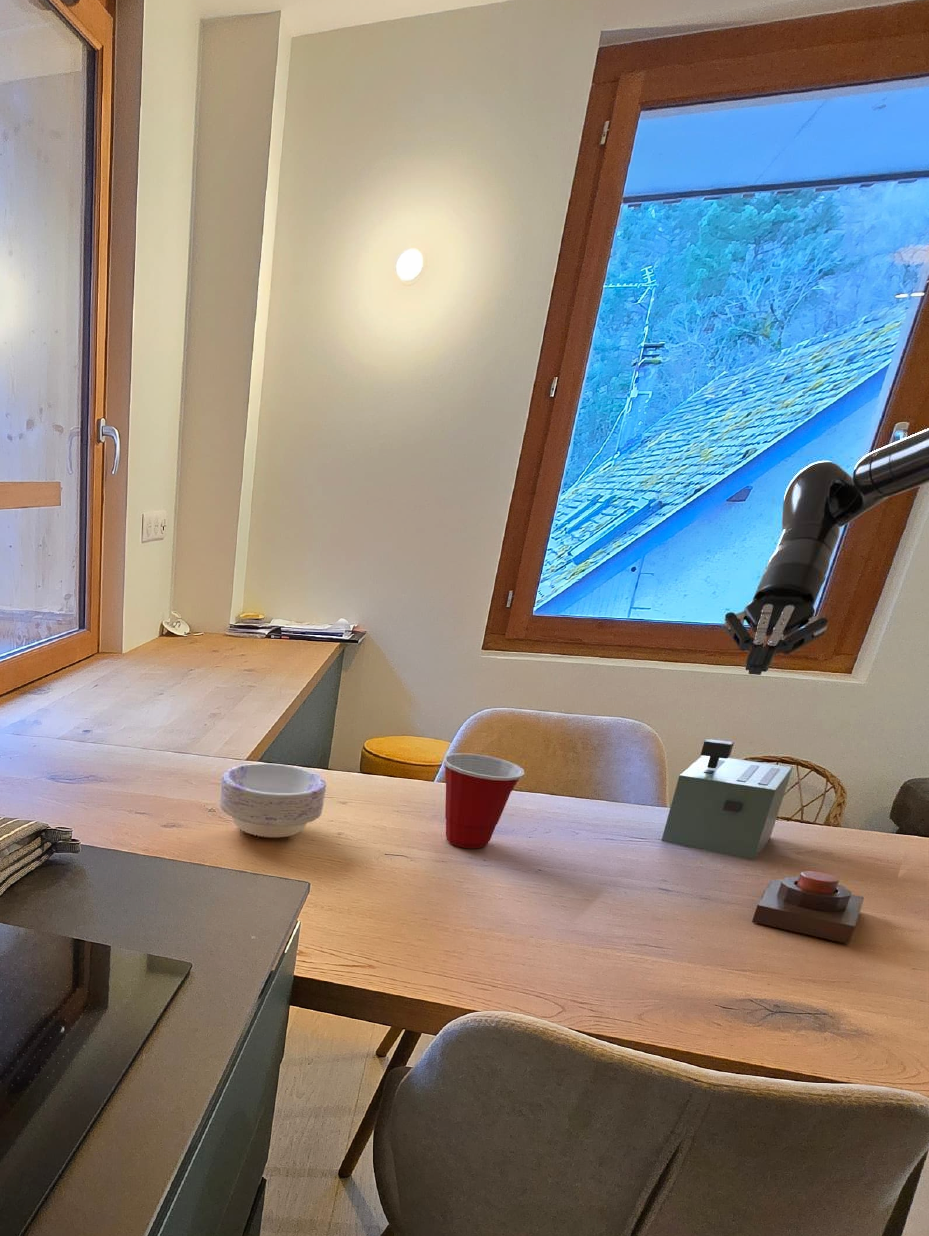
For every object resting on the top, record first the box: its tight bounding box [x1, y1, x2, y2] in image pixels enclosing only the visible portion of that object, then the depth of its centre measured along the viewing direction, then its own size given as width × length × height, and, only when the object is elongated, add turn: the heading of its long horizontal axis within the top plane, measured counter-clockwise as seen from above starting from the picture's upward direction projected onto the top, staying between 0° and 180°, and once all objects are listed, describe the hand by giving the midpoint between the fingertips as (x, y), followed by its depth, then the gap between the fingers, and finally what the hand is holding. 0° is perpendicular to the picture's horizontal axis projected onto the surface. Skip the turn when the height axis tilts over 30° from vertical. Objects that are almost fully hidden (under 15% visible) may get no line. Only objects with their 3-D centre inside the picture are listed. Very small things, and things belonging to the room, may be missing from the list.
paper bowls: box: [219, 762, 327, 838], centre depth 139 cm, size 15×15×8 cm
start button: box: [796, 870, 840, 894], centre depth 109 cm, size 4×4×2 cm
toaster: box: [660, 755, 793, 861], centre depth 133 cm, size 18×11×11 cm, turn 137°
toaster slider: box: [700, 738, 735, 768], centre depth 131 cm, size 2×3×4 cm
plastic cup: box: [443, 752, 526, 849], centre depth 133 cm, size 11×11×12 cm
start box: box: [751, 876, 865, 945], centre depth 110 cm, size 12×9×4 cm
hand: (755, 671), depth 135 cm, fingers closed
